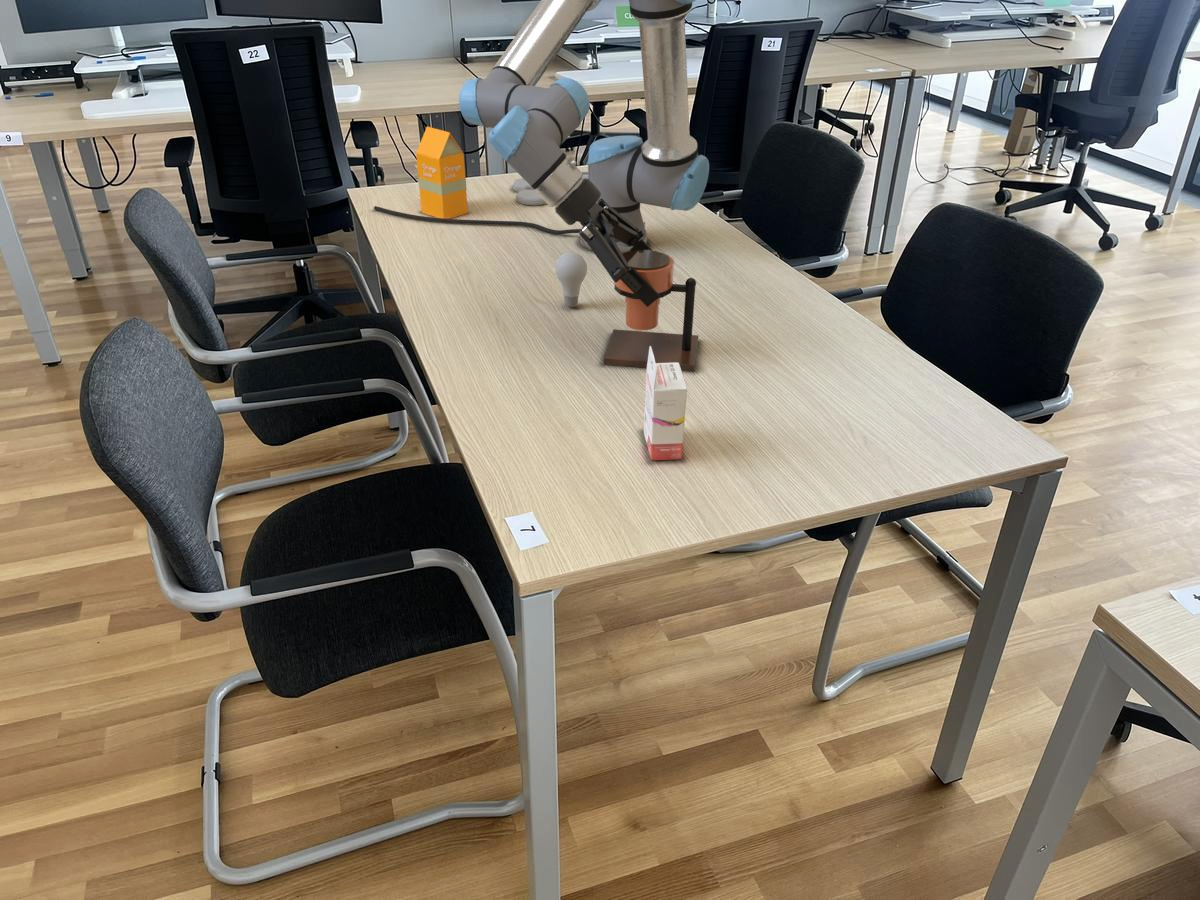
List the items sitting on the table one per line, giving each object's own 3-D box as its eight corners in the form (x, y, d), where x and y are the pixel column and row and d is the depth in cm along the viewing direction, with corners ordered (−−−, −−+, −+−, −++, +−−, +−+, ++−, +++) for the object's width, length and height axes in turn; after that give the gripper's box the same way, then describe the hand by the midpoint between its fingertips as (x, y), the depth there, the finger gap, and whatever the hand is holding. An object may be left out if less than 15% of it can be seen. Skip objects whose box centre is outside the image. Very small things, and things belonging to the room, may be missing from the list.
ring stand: (610, 355, 159) (611, 284, 152) (617, 332, 167) (619, 263, 160) (689, 361, 157) (694, 289, 150) (693, 337, 165) (698, 268, 158)
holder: (650, 200, 236) (651, 181, 234) (518, 206, 231) (517, 187, 228) (635, 179, 252) (635, 161, 249) (511, 185, 247) (510, 166, 244)
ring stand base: (603, 364, 159) (603, 358, 158) (613, 335, 169) (613, 329, 168) (694, 371, 157) (694, 365, 156) (698, 341, 167) (698, 335, 166)
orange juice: (443, 220, 222) (436, 135, 211) (420, 212, 227) (413, 128, 216) (468, 212, 227) (463, 129, 216) (445, 205, 232) (439, 123, 221)
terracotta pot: (601, 325, 159) (602, 260, 153) (635, 307, 166) (638, 244, 160) (648, 341, 154) (651, 274, 148) (681, 321, 161) (685, 257, 154)
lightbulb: (592, 304, 180) (592, 250, 174) (578, 316, 176) (578, 261, 170) (564, 298, 183) (563, 245, 177) (550, 310, 178) (549, 255, 172)
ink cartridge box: (683, 460, 133) (690, 370, 126) (649, 461, 133) (654, 371, 125) (674, 429, 141) (680, 342, 133) (642, 430, 140) (646, 343, 132)
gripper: (571, 200, 138) (667, 301, 144) (596, 156, 158) (679, 246, 165) (538, 232, 141) (632, 329, 147) (566, 185, 162) (648, 272, 168)
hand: (657, 286), depth 156 cm, fingers open, 12 cm apart
